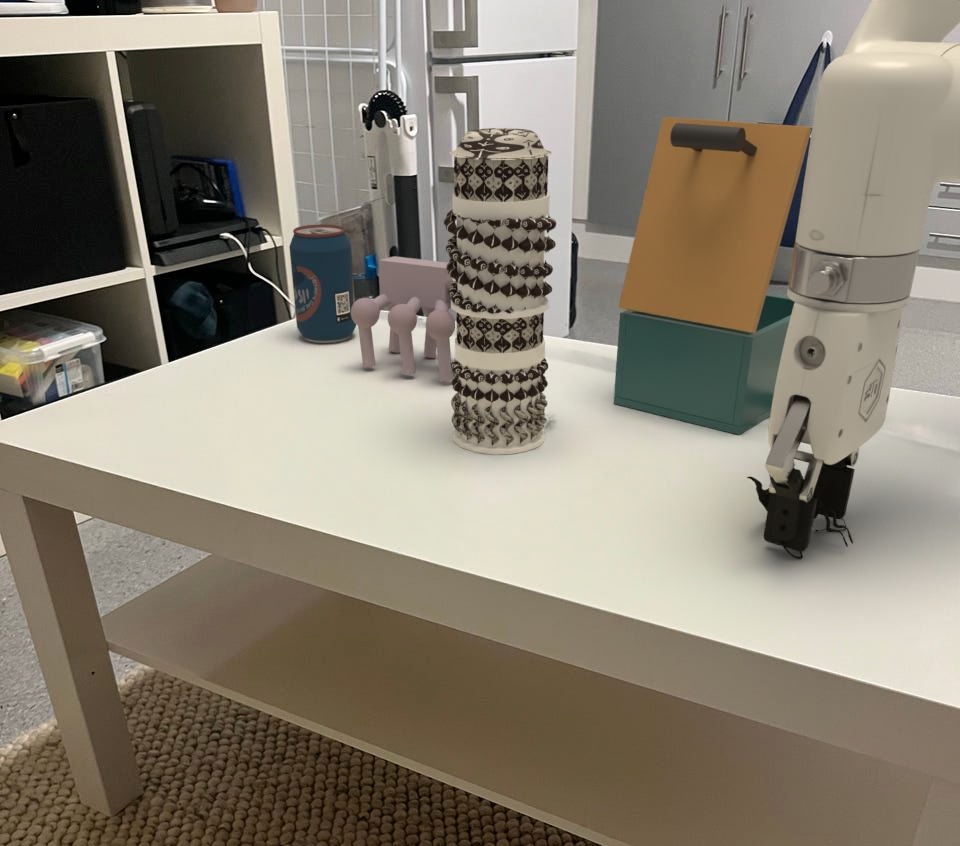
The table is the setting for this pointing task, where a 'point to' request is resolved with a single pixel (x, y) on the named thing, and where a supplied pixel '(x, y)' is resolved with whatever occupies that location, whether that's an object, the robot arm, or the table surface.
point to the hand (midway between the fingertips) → (804, 527)
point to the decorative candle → (499, 289)
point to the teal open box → (701, 367)
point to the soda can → (322, 283)
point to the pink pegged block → (409, 311)
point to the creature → (764, 499)
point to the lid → (713, 220)
